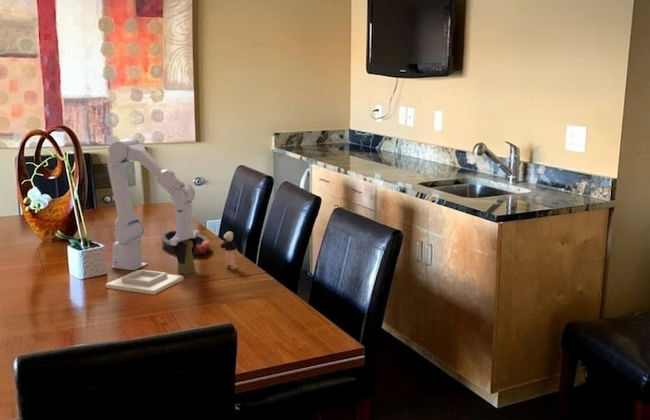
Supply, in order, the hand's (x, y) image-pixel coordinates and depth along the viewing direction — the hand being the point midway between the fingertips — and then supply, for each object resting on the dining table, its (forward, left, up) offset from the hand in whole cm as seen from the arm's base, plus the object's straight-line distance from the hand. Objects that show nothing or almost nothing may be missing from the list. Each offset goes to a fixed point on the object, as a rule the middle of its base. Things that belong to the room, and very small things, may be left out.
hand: (185, 261), depth 229 cm
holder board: (-5, -16, -4) cm, 17 cm away
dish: (-17, +26, -4) cm, 31 cm away
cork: (0, 0, -4) cm, 4 cm away
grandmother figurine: (+11, +10, -4) cm, 15 cm away
